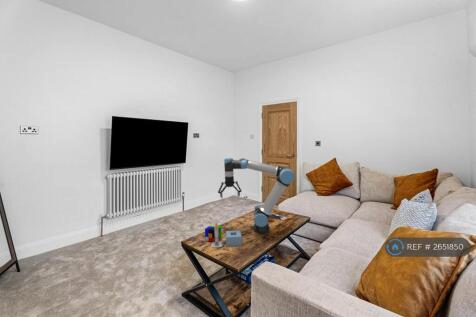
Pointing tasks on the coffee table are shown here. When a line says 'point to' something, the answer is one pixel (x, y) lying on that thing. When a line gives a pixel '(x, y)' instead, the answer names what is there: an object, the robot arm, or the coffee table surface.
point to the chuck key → (216, 234)
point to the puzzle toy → (212, 233)
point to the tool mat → (216, 245)
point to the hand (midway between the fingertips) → (230, 200)
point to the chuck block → (233, 238)
